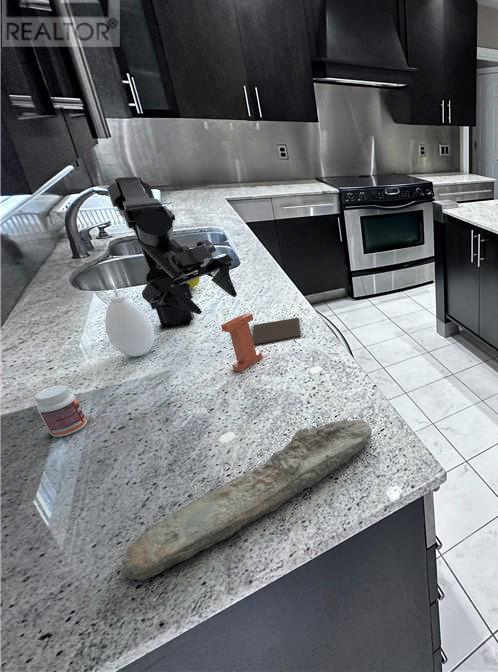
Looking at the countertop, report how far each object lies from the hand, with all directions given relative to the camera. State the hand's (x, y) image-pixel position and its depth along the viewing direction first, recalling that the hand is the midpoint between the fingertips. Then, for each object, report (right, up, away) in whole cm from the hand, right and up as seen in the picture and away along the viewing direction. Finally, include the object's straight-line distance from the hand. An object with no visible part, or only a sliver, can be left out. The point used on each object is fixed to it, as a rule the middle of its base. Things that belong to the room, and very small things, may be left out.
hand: (219, 304), depth 94 cm
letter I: (+6, -14, +2) cm, 15 cm away
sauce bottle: (-22, -12, +4) cm, 25 cm away
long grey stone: (+29, -29, -29) cm, 50 cm away
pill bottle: (-14, -22, -19) cm, 32 cm away
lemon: (-36, +3, +38) cm, 53 cm away
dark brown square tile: (+4, -8, +16) cm, 18 cm away
